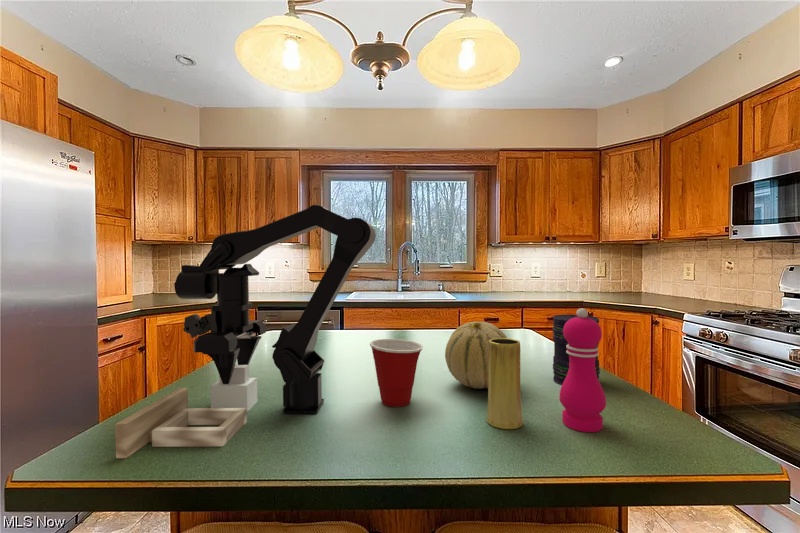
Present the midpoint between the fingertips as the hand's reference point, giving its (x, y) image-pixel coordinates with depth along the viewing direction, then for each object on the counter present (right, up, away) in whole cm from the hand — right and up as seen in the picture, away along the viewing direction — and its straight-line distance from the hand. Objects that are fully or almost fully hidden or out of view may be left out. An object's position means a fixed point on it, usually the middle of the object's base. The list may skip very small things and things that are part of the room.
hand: (234, 378), depth 76 cm
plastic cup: (+32, -5, +2) cm, 33 cm away
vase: (+51, -5, -9) cm, 52 cm away
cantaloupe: (+50, -5, +10) cm, 52 cm away
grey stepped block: (0, -6, 0) cm, 6 cm away
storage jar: (+73, -5, +13) cm, 75 cm away
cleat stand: (-2, -6, -12) cm, 13 cm away
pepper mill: (+64, -5, -10) cm, 65 cm away
